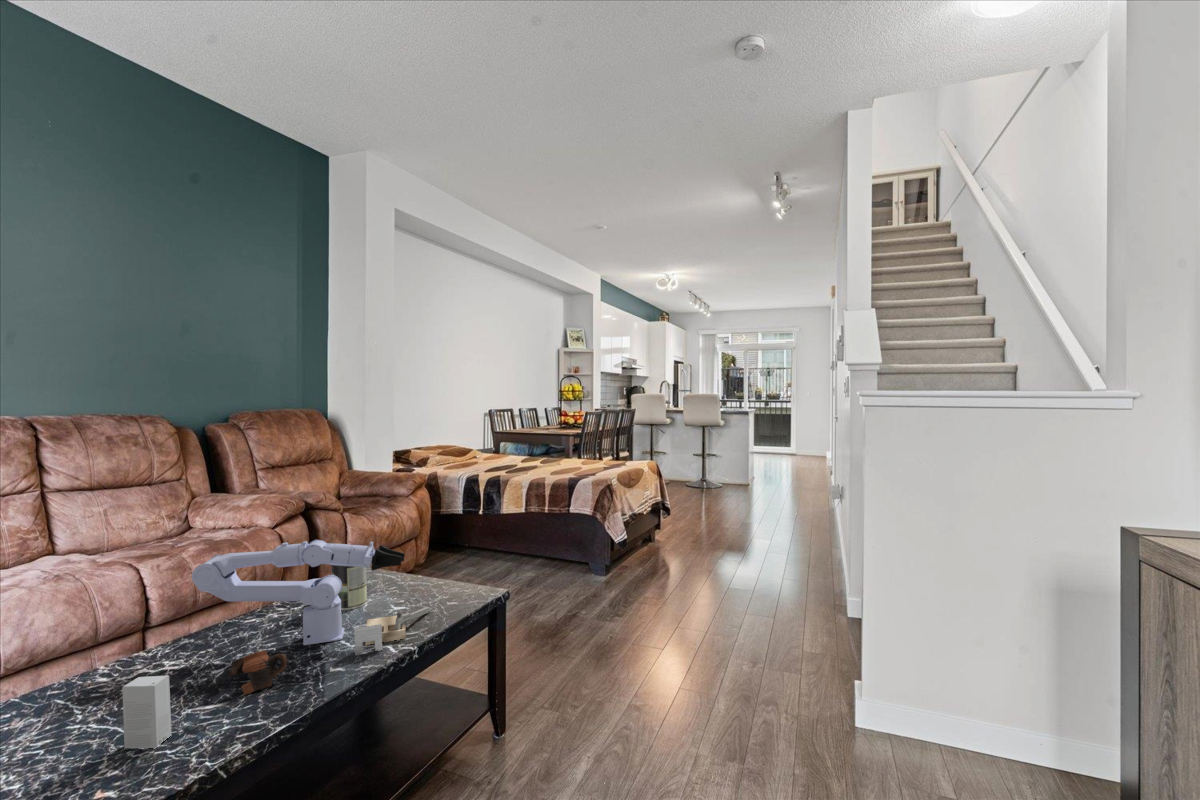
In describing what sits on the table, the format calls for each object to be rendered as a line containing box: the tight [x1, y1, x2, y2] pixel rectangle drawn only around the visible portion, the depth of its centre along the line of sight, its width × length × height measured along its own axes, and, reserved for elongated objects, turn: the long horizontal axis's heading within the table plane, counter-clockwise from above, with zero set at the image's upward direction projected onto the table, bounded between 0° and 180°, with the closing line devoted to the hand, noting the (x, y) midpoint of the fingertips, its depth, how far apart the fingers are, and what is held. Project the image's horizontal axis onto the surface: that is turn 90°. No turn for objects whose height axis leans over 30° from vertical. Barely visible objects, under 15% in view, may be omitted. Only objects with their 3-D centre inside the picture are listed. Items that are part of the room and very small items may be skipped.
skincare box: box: [121, 675, 172, 749], centre depth 110 cm, size 6×4×12 cm
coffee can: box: [330, 565, 368, 611], centre depth 182 cm, size 10×10×14 cm
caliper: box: [395, 606, 433, 630], centre depth 165 cm, size 20×1×6 cm, turn 172°
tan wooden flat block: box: [364, 613, 407, 646], centre depth 159 cm, size 10×12×2 cm
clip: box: [354, 624, 383, 656], centre depth 148 cm, size 6×2×6 cm, turn 110°
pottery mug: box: [227, 650, 289, 696], centre depth 133 cm, size 12×10×8 cm
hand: (402, 559), depth 162 cm, fingers open, 7 cm apart
